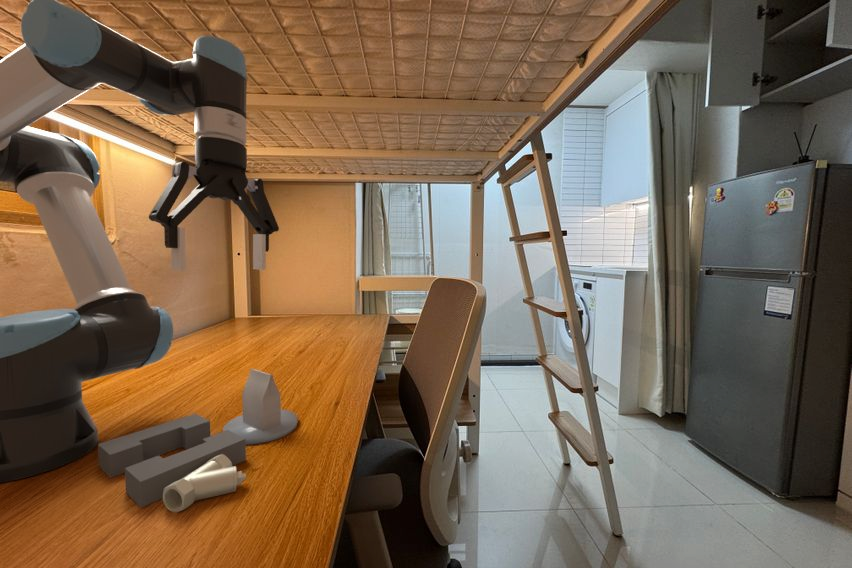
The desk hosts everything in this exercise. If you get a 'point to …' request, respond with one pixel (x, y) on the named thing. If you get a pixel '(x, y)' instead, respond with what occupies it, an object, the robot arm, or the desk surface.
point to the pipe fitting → (203, 483)
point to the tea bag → (261, 401)
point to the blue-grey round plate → (258, 436)
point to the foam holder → (158, 472)
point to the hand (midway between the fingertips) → (222, 270)
